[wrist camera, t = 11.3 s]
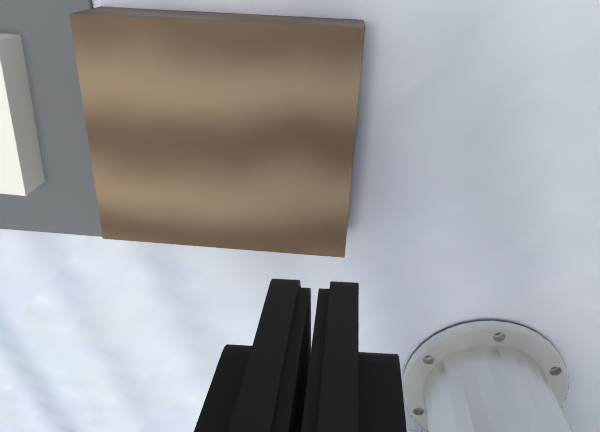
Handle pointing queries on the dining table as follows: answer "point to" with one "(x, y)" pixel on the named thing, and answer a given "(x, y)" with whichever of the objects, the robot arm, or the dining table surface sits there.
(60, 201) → the mat
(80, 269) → the dining table surface
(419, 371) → the robot arm
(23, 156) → the cream box
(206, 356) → the dining table surface
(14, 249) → the dining table surface
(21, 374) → the dining table surface
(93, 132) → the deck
